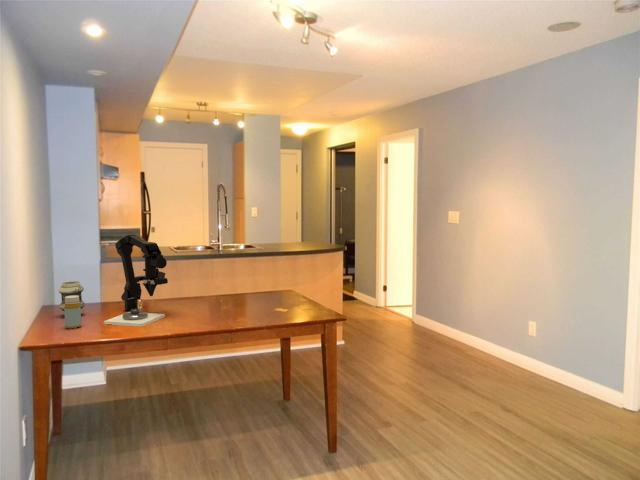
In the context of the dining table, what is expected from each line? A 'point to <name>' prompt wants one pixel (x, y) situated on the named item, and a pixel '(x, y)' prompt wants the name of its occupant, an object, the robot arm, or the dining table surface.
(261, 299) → the dining table surface
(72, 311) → the bottle
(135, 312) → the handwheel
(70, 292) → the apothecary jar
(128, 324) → the white square plate
